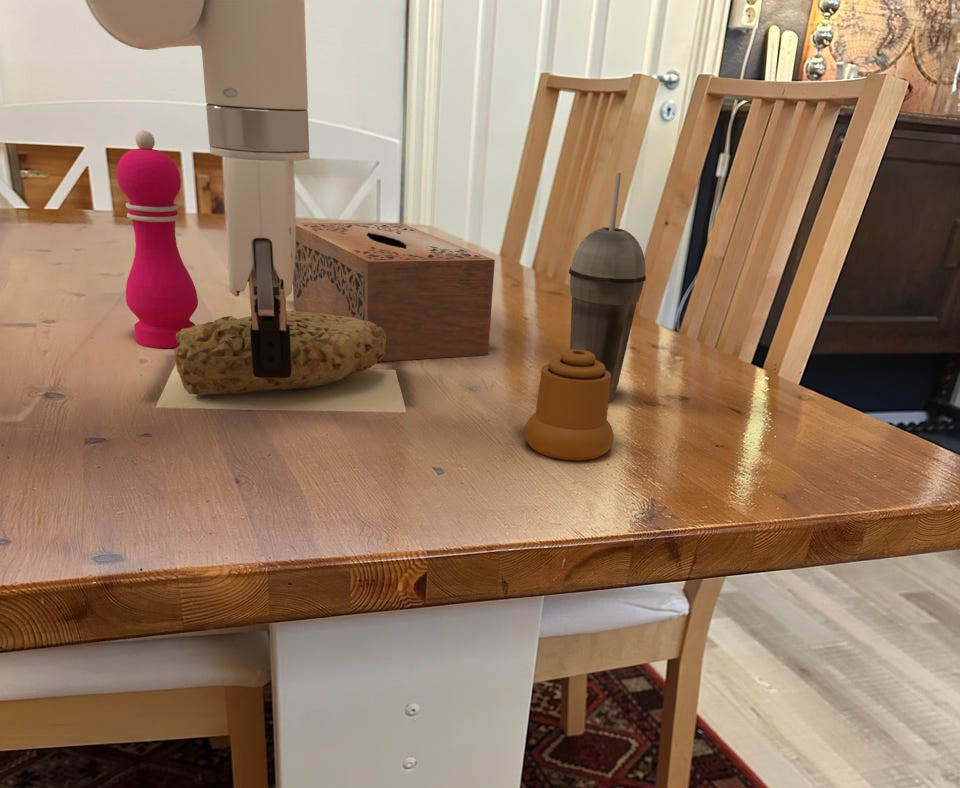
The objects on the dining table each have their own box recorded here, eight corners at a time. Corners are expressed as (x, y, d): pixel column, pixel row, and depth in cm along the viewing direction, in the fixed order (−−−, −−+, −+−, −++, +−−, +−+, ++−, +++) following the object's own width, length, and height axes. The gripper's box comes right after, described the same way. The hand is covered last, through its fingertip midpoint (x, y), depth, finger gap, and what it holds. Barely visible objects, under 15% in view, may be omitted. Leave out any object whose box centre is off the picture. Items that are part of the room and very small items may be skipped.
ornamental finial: (526, 429, 82) (610, 437, 82) (521, 458, 76) (612, 467, 76) (534, 337, 78) (623, 345, 78) (530, 360, 72) (626, 368, 72)
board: (155, 409, 81) (154, 407, 81) (175, 366, 93) (175, 364, 93) (406, 414, 85) (406, 411, 85) (395, 371, 96) (395, 369, 96)
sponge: (191, 423, 82) (409, 373, 85) (163, 332, 79) (390, 283, 82) (195, 405, 94) (386, 361, 97) (170, 324, 90) (369, 282, 94)
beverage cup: (559, 405, 89) (585, 174, 79) (551, 384, 96) (574, 167, 85) (633, 409, 90) (669, 180, 79) (621, 388, 96) (652, 173, 86)
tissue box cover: (488, 354, 104) (494, 260, 99) (367, 362, 98) (367, 261, 93) (399, 304, 123) (401, 223, 118) (293, 308, 117) (290, 222, 112)
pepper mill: (135, 332, 102) (110, 125, 92) (203, 333, 104) (185, 130, 93) (127, 349, 96) (98, 130, 86) (199, 350, 98) (179, 135, 87)
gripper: (216, 126, 77) (234, 351, 86) (198, 138, 64) (221, 400, 74) (309, 131, 78) (316, 353, 87) (309, 145, 65) (317, 402, 75)
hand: (272, 374), depth 80 cm, fingers closed
